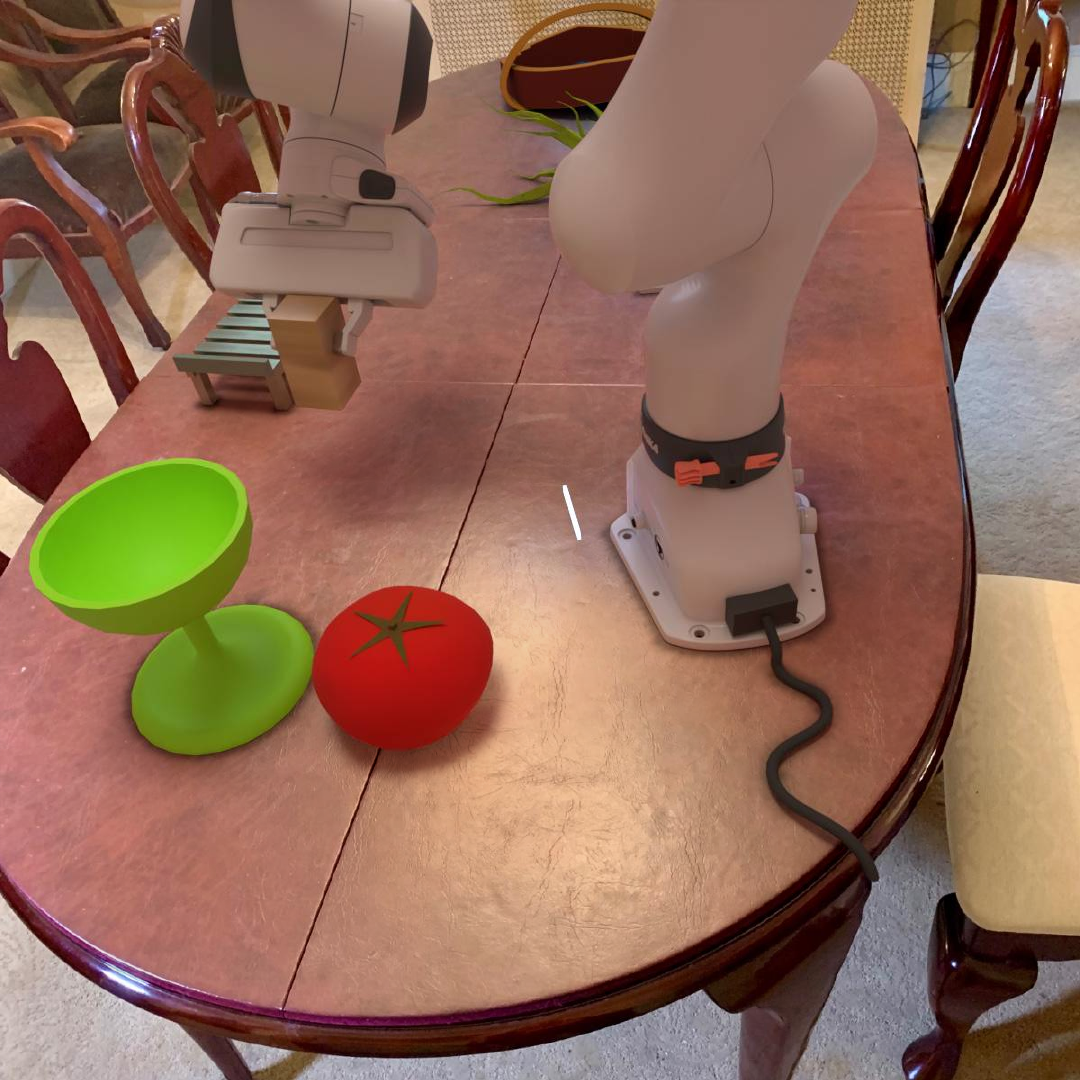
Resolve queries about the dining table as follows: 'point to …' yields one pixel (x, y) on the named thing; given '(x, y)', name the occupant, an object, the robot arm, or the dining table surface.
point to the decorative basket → (571, 61)
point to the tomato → (403, 666)
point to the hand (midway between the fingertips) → (312, 353)
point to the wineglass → (176, 600)
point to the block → (313, 351)
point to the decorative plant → (563, 135)
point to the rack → (237, 353)
